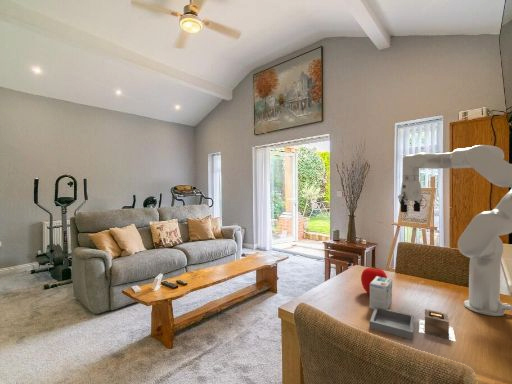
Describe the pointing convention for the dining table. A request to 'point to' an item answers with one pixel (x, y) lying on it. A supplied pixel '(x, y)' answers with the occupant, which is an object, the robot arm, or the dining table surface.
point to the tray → (392, 322)
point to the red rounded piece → (371, 277)
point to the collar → (437, 323)
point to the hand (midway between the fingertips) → (410, 211)
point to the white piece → (422, 330)
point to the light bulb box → (380, 292)
